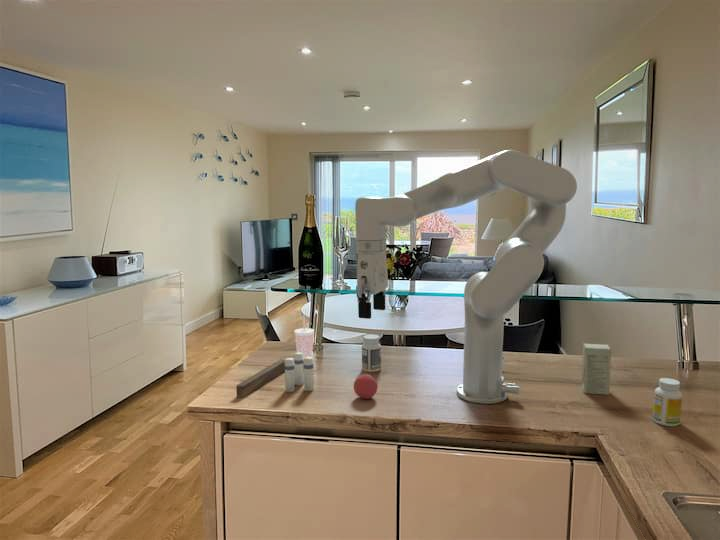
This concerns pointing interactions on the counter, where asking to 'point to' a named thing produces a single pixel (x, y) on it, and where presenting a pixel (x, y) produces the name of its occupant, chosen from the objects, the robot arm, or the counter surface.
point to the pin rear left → (289, 375)
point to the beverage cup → (304, 340)
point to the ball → (365, 386)
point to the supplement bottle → (667, 402)
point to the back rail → (260, 378)
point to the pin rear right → (298, 368)
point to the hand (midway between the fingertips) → (372, 313)
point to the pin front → (308, 374)
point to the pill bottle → (371, 353)
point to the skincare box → (596, 368)
